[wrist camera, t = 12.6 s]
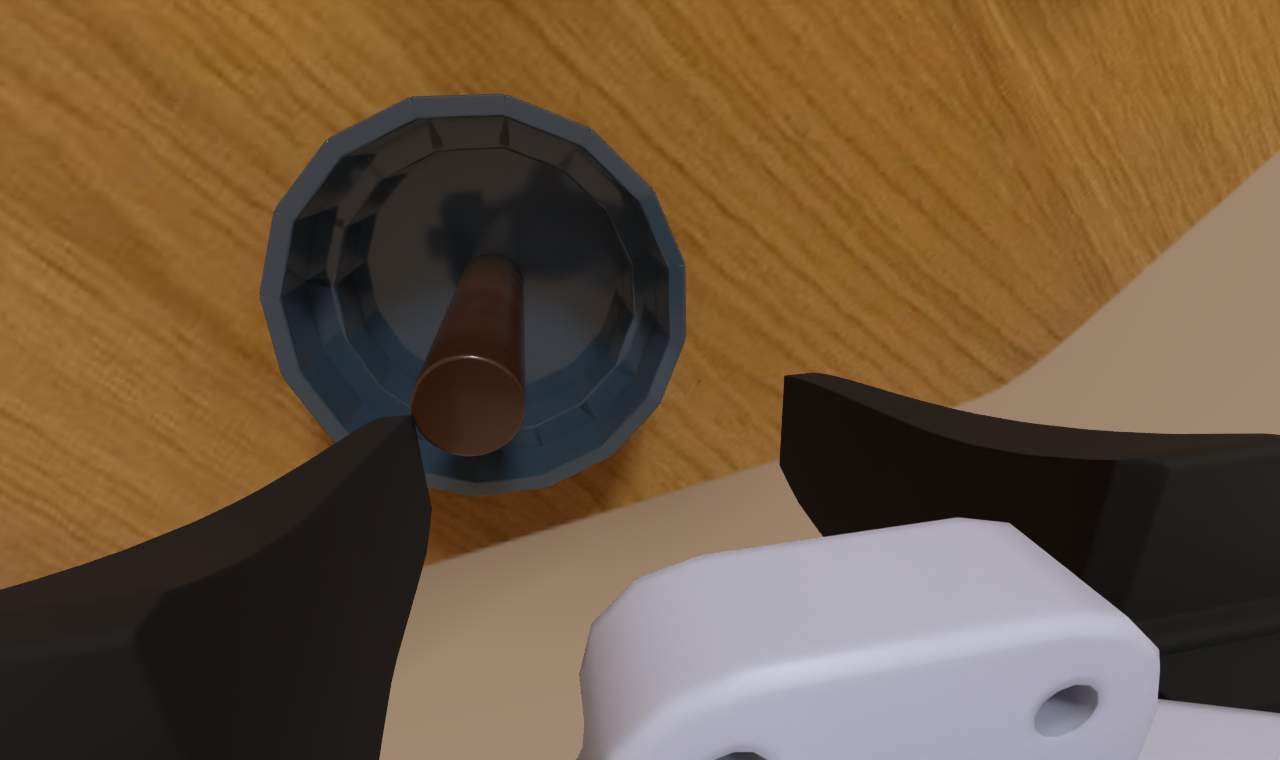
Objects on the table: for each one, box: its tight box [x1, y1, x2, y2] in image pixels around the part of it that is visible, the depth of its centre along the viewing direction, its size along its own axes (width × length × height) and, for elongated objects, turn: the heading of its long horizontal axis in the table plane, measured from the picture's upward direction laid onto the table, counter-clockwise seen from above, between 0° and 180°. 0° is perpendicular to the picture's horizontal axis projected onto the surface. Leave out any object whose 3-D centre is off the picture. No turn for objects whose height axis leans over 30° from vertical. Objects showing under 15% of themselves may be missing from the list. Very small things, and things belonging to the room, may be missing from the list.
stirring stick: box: [410, 254, 526, 456], centre depth 15 cm, size 2×2×10 cm
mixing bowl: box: [260, 94, 686, 497], centre depth 18 cm, size 11×11×4 cm
